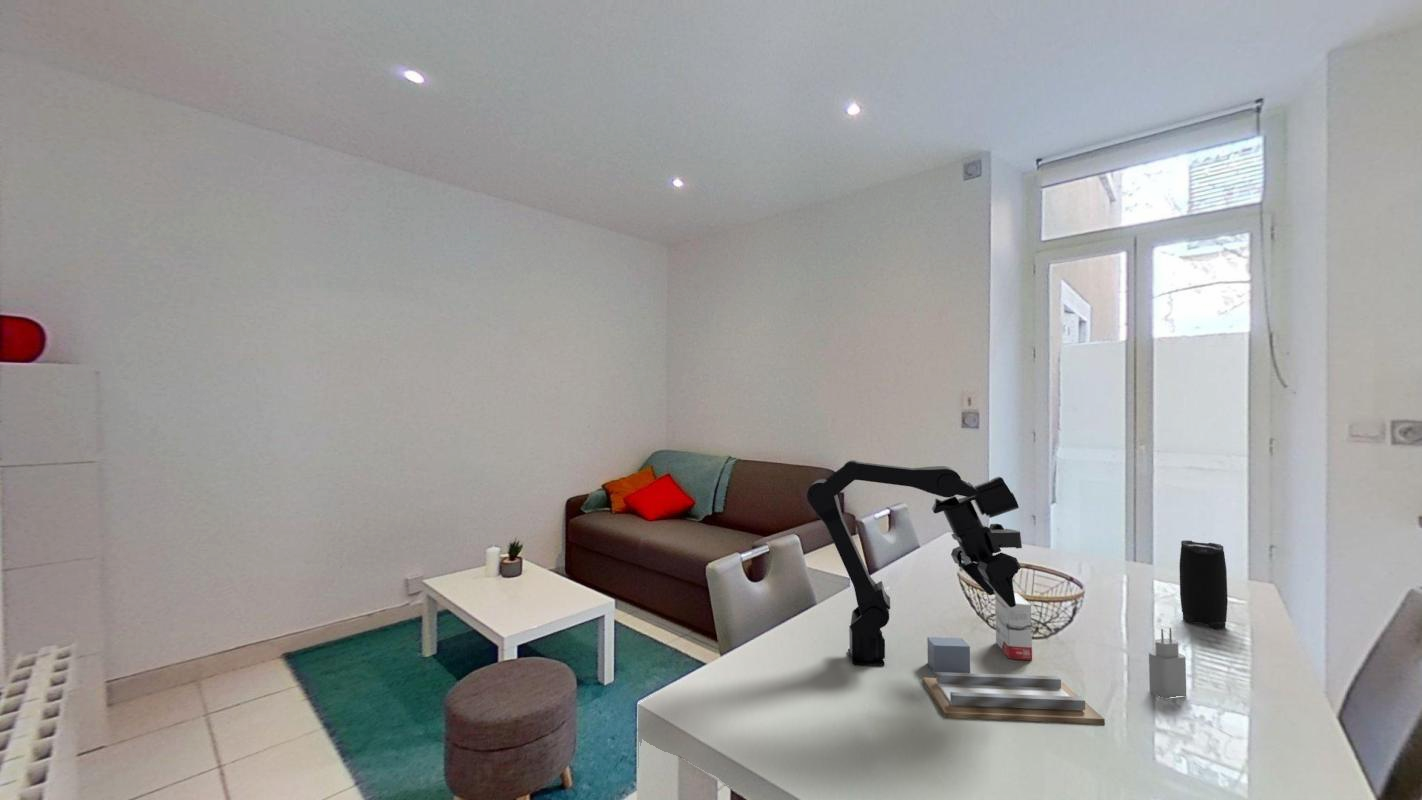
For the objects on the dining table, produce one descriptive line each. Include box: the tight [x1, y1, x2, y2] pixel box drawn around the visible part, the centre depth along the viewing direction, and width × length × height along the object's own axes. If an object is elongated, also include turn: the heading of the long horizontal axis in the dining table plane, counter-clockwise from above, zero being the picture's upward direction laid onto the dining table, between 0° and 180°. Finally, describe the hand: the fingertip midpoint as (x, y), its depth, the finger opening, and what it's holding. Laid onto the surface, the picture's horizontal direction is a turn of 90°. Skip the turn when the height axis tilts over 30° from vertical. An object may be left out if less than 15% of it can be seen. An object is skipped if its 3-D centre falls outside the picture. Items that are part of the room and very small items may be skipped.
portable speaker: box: [1179, 539, 1229, 630], centre depth 130 cm, size 9×9×20 cm
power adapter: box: [1148, 627, 1187, 699], centre depth 98 cm, size 3×5×12 cm, turn 101°
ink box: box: [994, 591, 1033, 661], centre depth 116 cm, size 9×5×12 cm, turn 168°
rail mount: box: [922, 672, 1106, 725], centre depth 96 cm, size 26×12×3 cm, turn 85°
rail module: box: [927, 636, 971, 674], centre depth 108 cm, size 7×4×6 cm, turn 85°
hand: (1002, 600), depth 105 cm, fingers open, 9 cm apart
